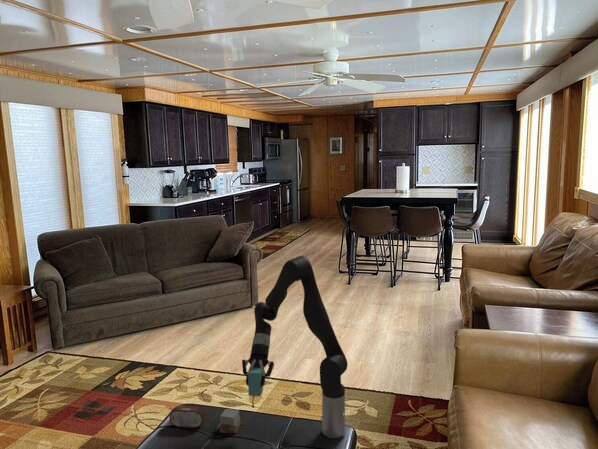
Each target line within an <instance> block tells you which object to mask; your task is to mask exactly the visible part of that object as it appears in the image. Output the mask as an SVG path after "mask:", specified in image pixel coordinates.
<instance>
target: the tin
mask: <svg viewBox="0 0 598 449" xmlns="http://www.w3.org/2000/svg"><path fill="white" fill-rule="evenodd" d="M205 420H206V414H205V412H204V411H203V409H201V408H199V407H197V406H194V407H193V406H179V405H178V406H175V407H173V408H172V410H171V412H170V414H169V421H170V423H171V424H172V425H173V426H174V427H177V428H191V429H196V428H197V429H198V428H201V426H202V425H203V424H204V422H205Z"/></svg>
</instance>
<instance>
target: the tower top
mask: <svg viewBox="0 0 598 449" xmlns="http://www.w3.org/2000/svg"><path fill="white" fill-rule="evenodd" d="M239 417H240V410H239V409H233V408H232V409H231V408H225V409H224V410H223V412H222V413H221V414H220V415H219V420H220V422H219V425H220V424H225V425H232V426H234V425H235V423H236V422H237V421H238V419H239Z"/></svg>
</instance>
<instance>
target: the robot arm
mask: <svg viewBox="0 0 598 449" xmlns="http://www.w3.org/2000/svg"><path fill="white" fill-rule="evenodd" d="M298 281H301V285H302V287H303V305H302V306H303V308H302V312H303V316H304V319H305V322H306V323H307V324H306V325H307V327H308V328H309V330H310V332H311V334H313V335H314V336H315V338H317V339H318V340H319V341H320V343H321V345H322V347H323V350H324V353H325V355H326V357H324V359H322V361H320V365H319V385H320V389H321V390H322V391H321V396H322V398H321V399H322V401H321V402H322V403H321V404H322V405H321V406H322V408H321V409H322V411H321V412H322V418H321V419H322V422H321V424H322V427H321V428H322V432H321V433H322V434H323V435H324V437H326V436H327V437H326V438H329V439H339V438H342V437H343V438H344V437H345V435H346V434H345V433H346V431H345V430H346V407H345V406H346V404H345V403H346V402H345V400H346V398H345V396H346V388H345V385H344V384H343V383H342V376H343V374H344V373H345V372H346V371H347V368H348V365H349V364H348V360H347V357H346V355H345V353H344V350H343V349H342V347H341V345H340V343H339V341H338V339H337V336H336V333H335V331H334V328H333V326H332V324H331V323H332V322H331V320H330V317H329V315H328V312H327V309H326V307H325V304H324V302H323V299H322V296H321V293H320V290H319V287H318V284H317V281H316V276H315V273H314V270H313V267H312V263H311V262H310V260H309V259H308V258H307V257H306V256H304V255H300V256H296V257H294V258H291V259H288V260H287V261H286V262H285V263H284V264H283V266H282V268H281V270H280V272H279V275H278V278H277V280H276V282H275V284H274V286H273V287H272V289H271V290H270V292H269V294H268V295H267V296H266V298H265V302H262V301H259V302H257V303H256V304H255V306H254V310H253V314H254V321H255V329H254V334H253V335H254V336H253V339H252V344H251V350H250V356H249V358H248V359H242V360H241V362H242V363H241V364H242V367H241V368H242V373H243V375H244V376H246V379H245V384H246V387H247V386H248V372H249V370H250V368H253V367H256V368H261V369H262V377H261V383H260V386H261V387H263V388H264V385H265V383H266V379H267V378H270V377H271V374H272V372H273V369H274V367H275V363H274V362H275V361H272V360H271V361H270V360H269V352H270V347H271V333H272V325H271V324H270V323H269V322H272V321H274V320H276V319H277V317H278V312H279V309H280V307H281V305H282V303H284V301H285V299H286V298H287V296H288V289H289V288H290V286H291V285H293V284H294V283H295V282H298ZM267 321H269V322H267ZM248 364H249V365H250V366H249V367H248V370H247V366H248ZM266 366H268V368H267V371H266V370H265V367H266Z"/></svg>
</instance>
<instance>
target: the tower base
mask: <svg viewBox="0 0 598 449" xmlns="http://www.w3.org/2000/svg"><path fill="white" fill-rule="evenodd" d="M240 426H241V416H239V419H238V421H237V422H236V423H235V425H234V426H232V425H225V424H220V423H219V433H227V434H237V433H238V430H239V428H240Z"/></svg>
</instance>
